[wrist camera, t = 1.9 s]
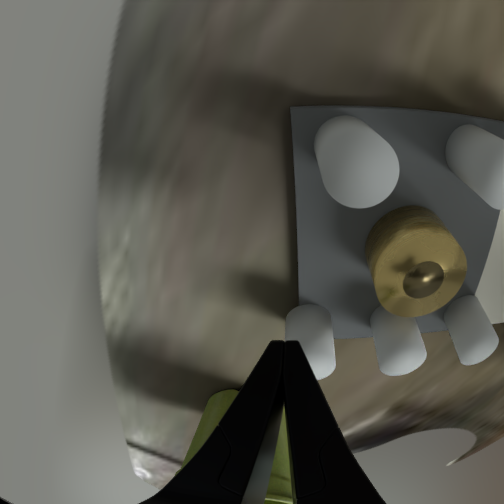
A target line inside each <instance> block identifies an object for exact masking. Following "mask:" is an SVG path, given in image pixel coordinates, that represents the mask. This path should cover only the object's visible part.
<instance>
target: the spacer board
mask: <svg viewBox="0 0 504 504" xmlns="http://www.w3.org/2000/svg"><path fill="white" fill-rule="evenodd" d="M290 113H291V126H292V141H293V157H294V174H295V193H296V216H297V243H298V281H299V306H298V307H295V308H294V309H292V310H291V311H290V312H289V313H288V315H287V317H286V325H285V341H286V340H298V341H299V342H300V344H301V347H302V349H303V351H304V353H305V355H306V357H307V359H308V362H309V364H310V366H311V368H312V370H313V372H314V374H315V377H316V379H317V380H320V379H323V378H325V377H327V376H329V375H330V374H331V373H332V372H333V371H334V369H335V367H336V362H335V350H334V339H347V338H366V337H373V338H374V343H375V348H376V353H377V358H378V364H379V369H380V371H381V372H382V373H384V374H386V375H390V376H398V375H404V374H407V373H409V372H412V371H413V370H415V369H417V368H418V367H419V366H420V365H422V363H423V362H424V361H425V359H426V356H427V352H426V349H425V346H424V343H423V340H422V337H421V334H420V333H428V332H437V331H446V330H448V331H449V333H450V336H451V338H452V341H453V343H454V346H455V349H456V351H457V354H458V356H459V359H460V362H461V363H462V364H464V365H473V364H477V363H479V362H481V361H483V360H485V359H486V358H487V357H489V356H490V355H491V354H492V353H493V352H494V351H495V349H496V348H497V346H498V343H499V338H498V336H497V334H496V332H495V330H494V328H493V326H492V324H497V323H503V322H504V121H499V120H494V119H489V118H483V117H477V116H471V115H464V114H457V113H449V112H441V111H432V110H422V109H410V108H396V107H378V106H292V107H290ZM412 205H413V206H421V207H425V208H427V209H429V210H431V211H433V212H434V213H435V214H436V215H437V216H438V217H439V218H440V219H441V221H442V222H443V223H444V225H445V226H446V227H447V229H448V230H449V231H450V233H451V234H452V235H453V237H454V238H455V240H456V241H457V242H458V244H459V245H460V247H461V248H462V250H463V251H464V253H465V256H466V260H467V271H466V276H465V279H464V282H463V284H462V286H461V288H460V289H459V291H458V292H457V293H456V295H455V296H454V297H453V298H452V299H451V300H450V301H449V302H448V303H447V304H445V305H444V306H442V307H441V308H439V309H438V310H436V311H434V312H431V313H429V314H426V315H423V316H418V317H402V316H397V315H394V314H392V313H390V312H389V311H387V310H386V309H385V308H384V307H383V306H382V305H381V303H380V302H379V300H378V297H377V294H376V290H375V287H374V283H373V280H372V277H371V273H370V270H369V267H368V263H367V260H366V256H365V244H366V240H367V237H368V235H369V232H370V231H371V229H372V227H373V226H374V225H375V224H376V222H377V221H378V220H379V219H380V218H381V217H383V216H384V215H385V214H387V213H389V212H390V211H392V210H394V209H397V208H400V207H404V206H412Z"/></svg>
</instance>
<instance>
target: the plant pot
mask: <svg viewBox="0 0 504 504" xmlns="http://www.w3.org/2000/svg"><path fill="white" fill-rule="evenodd" d="M238 392H239V391H237V390H234V389H231V390H224V391H221V392H218V393H216V394H214V395H213V396H211V397H210V398H209V400H208V402H207V405H206V408H205V410H204V413H203V415H202V418H201V420H200V423H199V425H198V428H197V430H196V433H195V435H194V438H193V440H192V443H191V445H190V448H189V450H188V452H187V455H186V457H185V460H184V462H183V465H182V467H181V469H182V468H183V467H184V466H185V465H186V464H187V463H188V462H189V461H190V460H191V458H192V457H193V456H194V455H195V454H196V453H197V451H198V450H199V449H200V448H201V447H202V445H203V444H204V443H205V441H206V440H207V439H208V437H209V436H210V435H211V433H212V432H213V430H214V429H215V427H216V426H217V425H218V423H219V421H220V420H221V418H222V417H223V415H224V414H225V412H226V411H227V409H228V408H229V406H230V405H231V403H232V402H233V400H234V399H235V397H236V396H237V394H238ZM218 426H219V425H218ZM181 469H180V470H181ZM180 470H179V471H180ZM179 471H177V472H176V474H177V473H178V472H179ZM176 474H175V475H176ZM264 504H293V500H292V488H291V476H290V465H289V453H288V442H287V431H286V420H285V408H283V414H282V419H281V425H280V430H279V435H278V440H277V445H276V450H275V455H274V460H273V465H272V470H271V474H270V479H269V484H268V488H267V493H266V497H265V501H264Z"/></svg>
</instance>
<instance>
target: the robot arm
mask: <svg viewBox="0 0 504 504" xmlns="http://www.w3.org/2000/svg"><path fill="white" fill-rule="evenodd" d="M283 408H285V420H286V431H287V442H288V453H289V465H290V476H291V488H292V500H293V504H386V503H385V501H384V500H383V499H382V498H381V496H380V495H379V493H378V492H377V491H376V489H375V488H374V486H373V485H372V483H371V482H370V480H369V479H368V477H367V476H366V474H365V473H364V471H363V470H362V468H361V467H360V466H359V464H358V462H357V460H356V459H355V457H354V455H353V454H352V452H351V450H350V448H349V446H348V444H347V443H346V441H345V439H344V437H343V434H342V432H341V430H340V428H338V424H337V422H336V420H335V417H334V415H333V413H332V411H331V409H330V407H329V405H328V402H327V400H326V398H325V396H324V394H323V392H322V389H321V387H320V385H319V383H318V381H317V379H316V377H315V374H314V372H313V370H312V368H311V366H310V364H309V362H308V359H307V357H306V355H305V353H304V351H303V349H302V347H301V344H300V342H299V341H298V340H286V341H285V342H284V341H283V340H272V341H271V342H270V343H269V344H268V346H267V348H266V349H265V351H264V353H263V354H262V356H261V358H260V359H259V361H258V362H257V364H256V366H255V367H254V369H253V370H252V372H251V374H250V375H249V377H248V378H247V380H246V381H245V383H244V385H243V386H242V388H241V389H240V391H239V392H238V394H237V396H236V397H235V399H234V400H233V402H232V403H231V405H230V406H229V408H228V409H227V411H226V412H225V414H224V415H223V417H222V418H221V420H220V421H219V423H218V425H219V426H218V425H217V426H216V427H215V429H214V430H213V432H212V433H211V435H210V436H209V437H208V439H207V440H206V441H205V443H204V444H203V445H202V447H201V448H200V449H199V450H198V451H197V453H196V454H195V455H194V456H193V457H192V458H191V460H190V461H189V462H188V463H187V464H186V465H185V466H184V467H183V468H182V469H181V470H180V471H179V472H178V473H177V474H176V475H175V476H174V477H173V478H172V480H171V481H170V482H169V483H168V484H167V485H166V486H165V487H164V488H162V489H161V490H160V491H159V492H158V493H156V494H155V495H154V496H152V497H151V498H149V499H147V500H145V501H143V502H141V503H139V504H264V501H265V497H266V493H267V488H268V484H269V479H270V474H271V470H272V465H273V460H274V455H275V450H276V445H277V440H278V435H279V430H280V425H281V419H282V414H283ZM0 504H12V503H10V502H9V501H7V500H5V499H3V498H1V497H0Z"/></svg>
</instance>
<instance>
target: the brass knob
mask: <svg viewBox="0 0 504 504" xmlns="http://www.w3.org/2000/svg"><path fill="white" fill-rule="evenodd" d="M365 256H366V260H367V263H368V267H369V270H370V273H371V277H372V280H373V283H374V287H375V290H376V294H377V297H378V300H379V302H380V303H381V305H382V306H383V307H384V308H385V309H386V310H387V311H389V312H390V313H392V314H394V315H397V316H402V317H418V316H423V315H426V314H429V313H431V312H434V311H436V310H438V309H439V308H441V307H442V306H444V305H445V304H447V303H448V302H449V301H450V300H451V299H452V298H453V297H454V296H455V295H456V293H457V292H458V291H459V289H460V288H461V286H462V284H463V282H464V279H465V276H466V271H467V260H466V256H465V253H464V251H463V250H462V248H461V247H460V245H459V244H458V242H457V241H456V240H455V238H454V237H453V235H452V234H451V233H450V231H449V230H448V229H447V227H446V226H445V225H444V223H443V222H442V221H441V219H440V218H439V217H438V216H437V215H436V214H435V213H434V212H433V211H431V210H429V209H427V208H425V207H421V206H413V205H412V206H404V207H400V208H397V209H394V210H392V211H390V212H389V213H387V214H385V215H384V216H383V217H381V218H380V219H379V220H378V221H377V222H376V224H375V225H374V226H373V227H372V229H371V231H370V232H369V235H368V237H367V240H366V244H365Z"/></svg>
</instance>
